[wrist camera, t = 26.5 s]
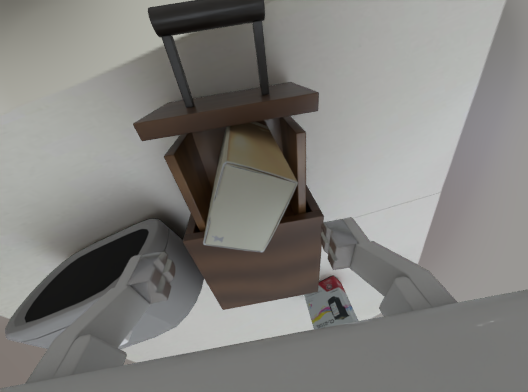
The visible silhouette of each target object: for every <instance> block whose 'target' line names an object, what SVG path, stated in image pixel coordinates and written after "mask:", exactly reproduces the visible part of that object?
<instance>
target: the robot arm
mask: <svg viewBox="0 0 528 392" xmlns="http://www.w3.org/2000/svg"><path fill="white" fill-rule="evenodd" d="M321 229H322V231H323V232H322V233H321V244H322V247H323V249H324V251H325V252H326V253H328V260H329V262H330V264H331V267H332V269H333V270H336V269H343V268H349V267H350V269H351V270H353V271H354V272H355V273H356V274H358V275H359V276H360V277H361V278H362V279H364V280H365V281H366V282H367V283H369V284H370V285H371V286H372V287H374V288H375V289H376V290H377V291H378V292H380V293H381V294H382V295H383V296H385V297H384V299H383V301H382V302H381V304H380V307H379V309H380V311H381V312H382V314H383V316H384V317H379V318H373V319H368V320H362V321H357V322H352V323H346V324H341V325H336V326H330V327H325V328H320V329H314V330H309V331H304V332H298V333H293V334H288V335H282V336H277V337H272V338H266V339H261V340H256V341H250V342H245V343H240V344H234V345H229V346H224V347H218V348H213V349H208V350H202V351H197V352H192V353H186V354H181V355H176V356H170V357H165V358H160V359H154V360H149V361H144V362H138V363H133V364H128V365H123V364H124V362H125V359H126V356H127V355H126V352H124V351H122V350H120V349H118V347H119V346H120V344H121V343H122V342H123V340H124V339H125V338H126V336H127V335H128V334H129V333H130V331H131V330H132V329H133V327H134V326H135V325H136V323H137V322H138V321H139V319H140V318H141V317H142V315H143V314H144V313H145V311H146V310H147V309H148V308H149V306H150V304H152V303H156V302H161V301H166V300H168V297H169V294H170V290H171V285H170V282H171V281H172V280H173V279H174V276H175V265H174V262H173V261H172V260H170V259H168V254H167V253H166V252H165V251H162V252H155V253H148V254H143V255H136V256H133V257H132V258H130V260H129V262H128V264H127V266H126V268H125V269H124V271H123V273H122V275H121V277H120V279H119V281H118V282H117V284H116V286H115V288H111V289H110V290H109V291H108V292H107V293H106V294H105V295H103V296H102V297H101V298H100V299H99V300H98V301H97V302H96V303H94V304H93V305H92V306H91V307H90V308H89V309H88V310H87V311H85V312H84V313H83V314H82V315H81V316H80V317H79V318H78V319H77V320H75V321H74V322H73V323H72V324H71V325H70V326H69V327H68V328H66V329H65V330H64V331H63V332H62V333H61V334H60V335H59V336H57V337H56V338H55V339H54V340H53V342H52V343H51V345H50V346H49V348H48V350H47V351H46V353H45V354H44V356H43V357H42V359H41V361H40V362H39V363H38V365H37V366H36V368H35V369H34V371H33V373H32V374H31V376H30V377H29V379H28V380H27V382H26V383H25V384H21V385H16V386H10V387H5V388H0V392H528V290H523V291H517V292H512V293H507V294H501V295H496V296H491V297H485V298H480V299H474V300H469V301H464V302H457V301H456V300H455V299H454V298H453V297H452V296H451V295H450V293H449V292H448V291H447V290H446V289H445V288H444V287H443V286H442V285H441V284H440V282H439V281H438V280H437V279H436V278H435V277H434V276H433V275H432V274H431V272H430V271H428V270H426V269H424V268H423V267H421V266H419V265H417V264H415V263H413V262H411V261H410V260H408V259H406V258H404V257H402V256H400V255H398V254H396V253H395V252H393V251H391V250H389V249H387V248H385V247H383V246H381V245H380V244H378V243H376V242H374V241H371V242H370V241H369V239H368V238H367V236H366V235H365V234H364V232H363V231H362V230H361V228H360V227H359V226H358V224H357V223H356V222H355V220H354V219H353V218H351V217H350V218H345V219H339V220H334V221H328V222H323V223H322V224H321Z"/></svg>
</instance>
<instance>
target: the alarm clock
mask: <svg viewBox="0 0 528 392" xmlns="http://www.w3.org/2000/svg"><path fill="white" fill-rule="evenodd" d="M162 251H165V252H166V253H167V254H168V259H170V260H172V261H173V262H174V265H175V276H174V279H173V280H172V281H171V282H170V285H171V290H170V294H169V297H168V300H166V301H161V302H156V303H152V304H150V306H149V308H148V309H147V310H146V311H145V313H144V314H143V315H142V317H141V318H140V319H139V321H138V322H137V323H136V325H135V326H134V327H133V329H132V330H131V331H130V333H129V334H128V335H127V336H126V338H125V339H124V340H123V342H122V343H121V344H120V346H119V347H118V349H123V348H125V347H128V346H131V345H134V344H137V343H140V342H143V341H146V340H148V339H151V338H154V337H156V336H158V335H160V334H163V333H165V332H167V331H169V330H171V329H173V328H175V327H176V326H177V325H178V324H179V323H180V322H181V321H182V320H183V319H184V318H185V317H186V316H187V315H188V314H189V312H190V311H191V309H192V308H193V306H194V304H195V303H196V301H197V298H198V296H199V294H200V291H201V289H202V284H203V280H204V277H203V275H202V274H201V272H200V270H199V269H198V267H197V265H196V264H195V262H194V260H193V258H192V257H191V255H190V253H189V252H188V250H187V248H186V247H185V245H184V243H183V240H182V239H181V238H180V237H179V236H177V235H176V234H175V233H174V232H173V231H172V230H171V229H170V228H168V227H167V226H166V225H165V224H164V223H163V222H162V221H160V220H158V219H148V220H145V221H143V222H140V223H138V224H135V225H133V226H130V227H128V228H126V229H124V230H122V231H120V232H118V233H116V234H113V235H111V236H109V237H107V238H105V239H103V240H101V241H98V242H96V243H94V244H92V245H90V246H88V247H86V248H84V249H82V250H81V251H79V252H77V253H75V254H73V255H72V256H71V257H69V258H68V259H67V260H65V261H64V262H62V263H61V264H60V265H59V266H58V267H57V268H55V269H54V270H53V271H52V272H51V273H50V274H49V275H48V276H47V277H46V278H45V279H44V280H43V281H42V282H41V283H40V284H39V285H38V286H37V287H36V288H35V289H34V290H33V291H32V292H31V293H30V295H29V296H28V297H27V298H26V299H25V300H24V302H23V303H22V304H21V305H20V306H19V308H18V309H17V310H16V312H15V313H14V315H13V316H12V317H11V319H10V321H9V322H8V324H7V326H6V328H5V333H6V338H7V339H9V340H12V341H16V342H21V343H25V344H29V345H33V346H38V347H42V348H46V349H48V348H49V346H50V345H51V343H52V342H53V340H54V339H55V338H56V337H57V336H59V335H60V334H61V333H62V332H63V331H64V330H65V329H66V328H68V327H69V326H70V325H71V324H72V323H73V322H74V321H75V320H77V319H78V318H79V317H80V316H81V315H82V314H83V313H84V312H85V311H87V310H88V309H89V308H90V307H91V306H92V305H93V304H94V303H96V302H97V301H98V300H99V299H100V298H101V297H102V296H103V295H105V294H106V293H107V292H108V291H109V290H110V289H111V288H115V286H116V284H117V282H118V281H119V279H120V277H121V275H122V273H123V271H124V269H125V268H126V266H127V264H128V262H129V260H130V258H132V257H133V256H136V255H143V254H148V253H155V252H162Z"/></svg>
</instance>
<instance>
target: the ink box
mask: <svg viewBox="0 0 528 392" xmlns="http://www.w3.org/2000/svg"><path fill="white" fill-rule="evenodd" d="M304 296H305V300H306V303H307V306H308V310H309V313H310V317H311V320H312V324H313V327H314V329H320V328H325V327H330V326H336V325H341V324H346V323H352V322H357V321H358V319H357V316H356V314H355V312H354V310H353V308H352V306H351V304H350V301H349V299H348V297H347V295H346V293H345V291H344V288H343V286H342V284H341V282H340V281H339V280H338V279H337V278H335V277H334V276H332V277H330V278H328V279H325V280H323V281H321V282H319V286H318V292H314V293H309V294H304Z"/></svg>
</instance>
